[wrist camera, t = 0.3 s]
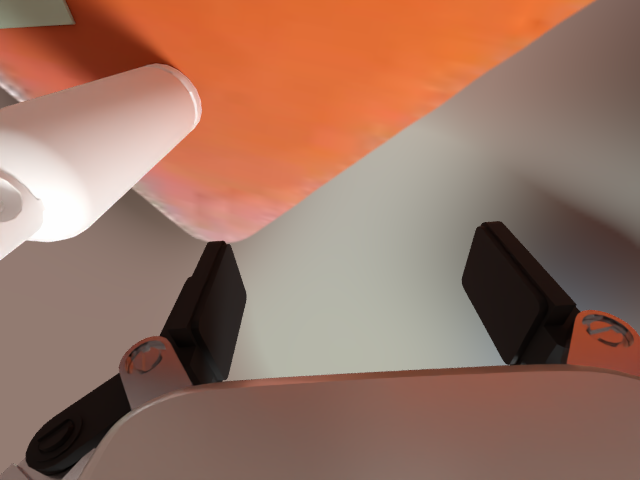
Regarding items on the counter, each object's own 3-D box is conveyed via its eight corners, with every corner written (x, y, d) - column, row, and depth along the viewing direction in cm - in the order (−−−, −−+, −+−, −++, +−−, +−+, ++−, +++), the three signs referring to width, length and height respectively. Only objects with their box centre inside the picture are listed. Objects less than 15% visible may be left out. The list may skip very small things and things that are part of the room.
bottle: (118, 95, 36) (-203, 225, 14) (158, 46, 33) (-167, 109, 11) (175, 147, 40) (-3, 315, 18) (215, 107, 37) (64, 247, 15)
